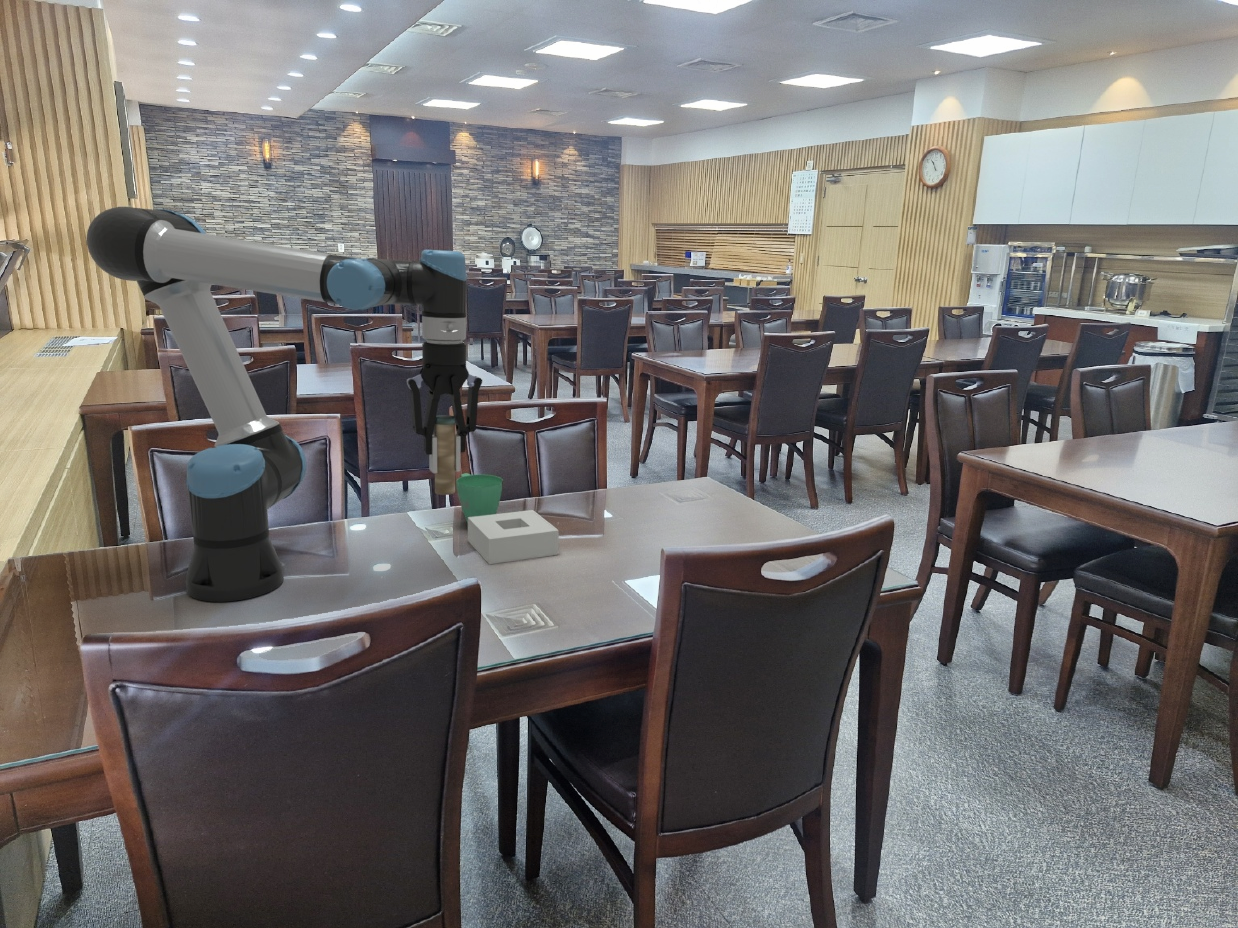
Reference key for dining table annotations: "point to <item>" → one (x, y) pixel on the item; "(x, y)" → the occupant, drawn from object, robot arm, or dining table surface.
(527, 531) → the socket block
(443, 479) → the peg
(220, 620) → the dining table surface
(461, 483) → the mug
